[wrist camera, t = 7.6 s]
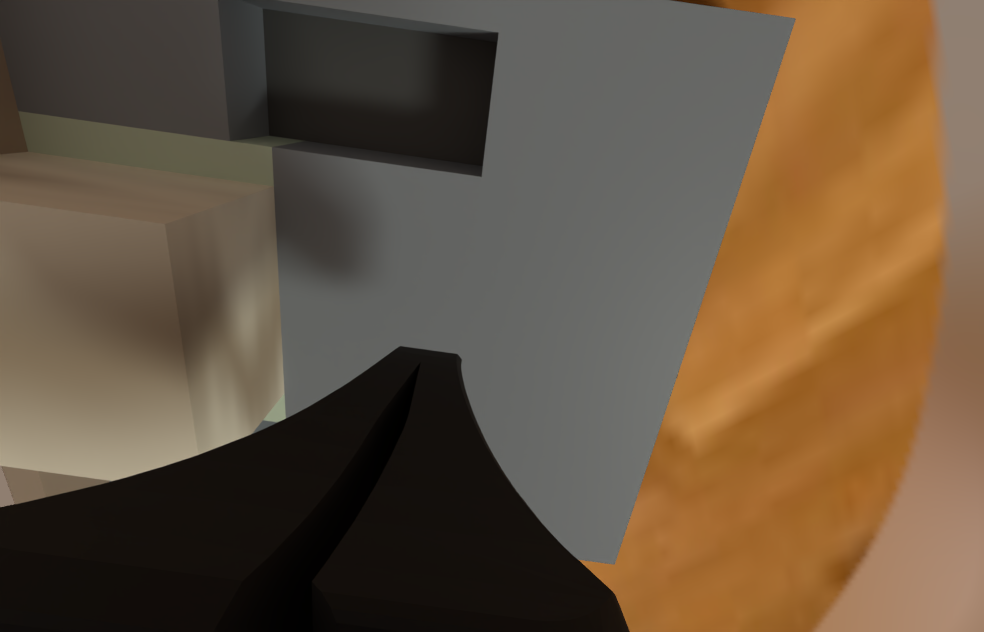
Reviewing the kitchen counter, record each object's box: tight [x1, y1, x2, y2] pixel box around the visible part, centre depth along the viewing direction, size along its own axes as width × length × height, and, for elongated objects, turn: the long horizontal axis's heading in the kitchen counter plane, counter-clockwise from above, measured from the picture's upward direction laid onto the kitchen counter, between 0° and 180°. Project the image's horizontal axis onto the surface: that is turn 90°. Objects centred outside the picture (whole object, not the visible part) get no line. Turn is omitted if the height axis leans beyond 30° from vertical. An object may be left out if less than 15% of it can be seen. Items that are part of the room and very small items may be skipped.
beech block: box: [0, 152, 284, 481], centre depth 11 cm, size 6×6×4 cm
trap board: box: [0, 0, 795, 564], centre depth 13 cm, size 16×18×4 cm
